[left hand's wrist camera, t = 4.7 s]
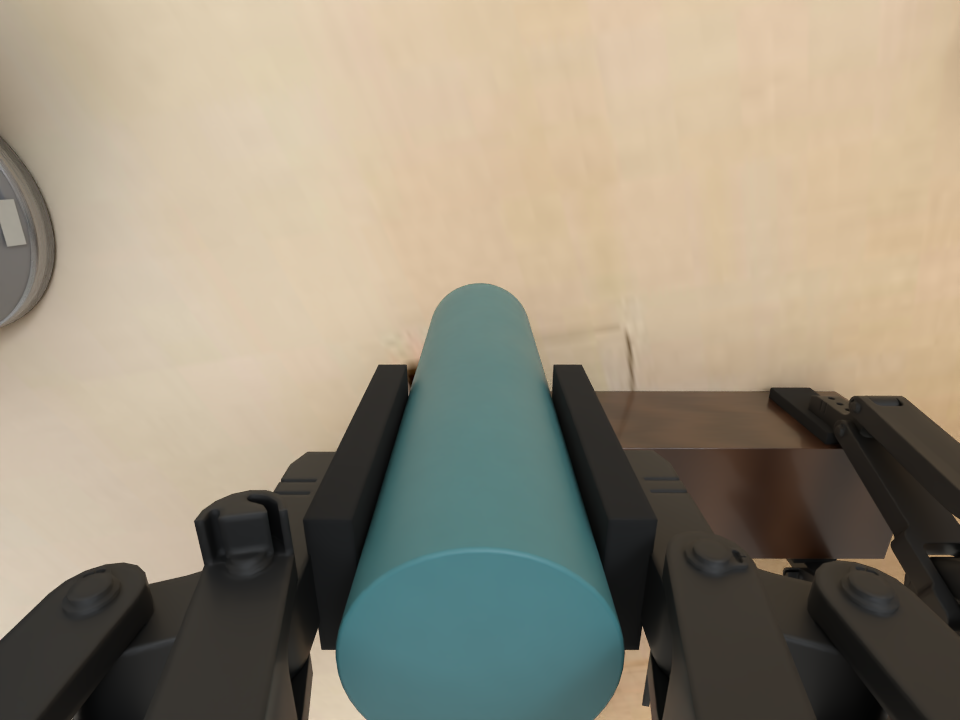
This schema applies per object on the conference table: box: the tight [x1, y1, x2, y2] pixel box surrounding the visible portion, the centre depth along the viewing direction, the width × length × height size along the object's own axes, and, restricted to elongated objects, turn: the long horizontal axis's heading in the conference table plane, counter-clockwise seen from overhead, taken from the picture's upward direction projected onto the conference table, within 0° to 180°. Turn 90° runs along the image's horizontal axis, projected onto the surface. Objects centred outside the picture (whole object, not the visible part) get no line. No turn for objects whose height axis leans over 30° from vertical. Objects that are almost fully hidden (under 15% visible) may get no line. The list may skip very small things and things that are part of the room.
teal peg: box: [336, 283, 625, 720], centre depth 14 cm, size 4×4×15 cm
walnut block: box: [550, 391, 893, 559], centre depth 36 cm, size 28×8×8 cm, turn 90°
